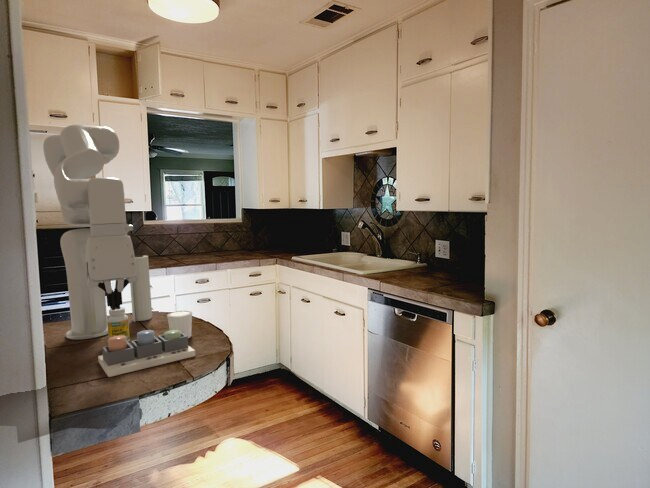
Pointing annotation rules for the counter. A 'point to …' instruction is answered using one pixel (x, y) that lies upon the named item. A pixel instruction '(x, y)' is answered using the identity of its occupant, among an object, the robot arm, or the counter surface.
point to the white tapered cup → (181, 321)
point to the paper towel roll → (141, 291)
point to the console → (145, 355)
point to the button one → (117, 343)
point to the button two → (145, 337)
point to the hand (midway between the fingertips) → (115, 308)
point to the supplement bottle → (118, 323)
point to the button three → (172, 334)
